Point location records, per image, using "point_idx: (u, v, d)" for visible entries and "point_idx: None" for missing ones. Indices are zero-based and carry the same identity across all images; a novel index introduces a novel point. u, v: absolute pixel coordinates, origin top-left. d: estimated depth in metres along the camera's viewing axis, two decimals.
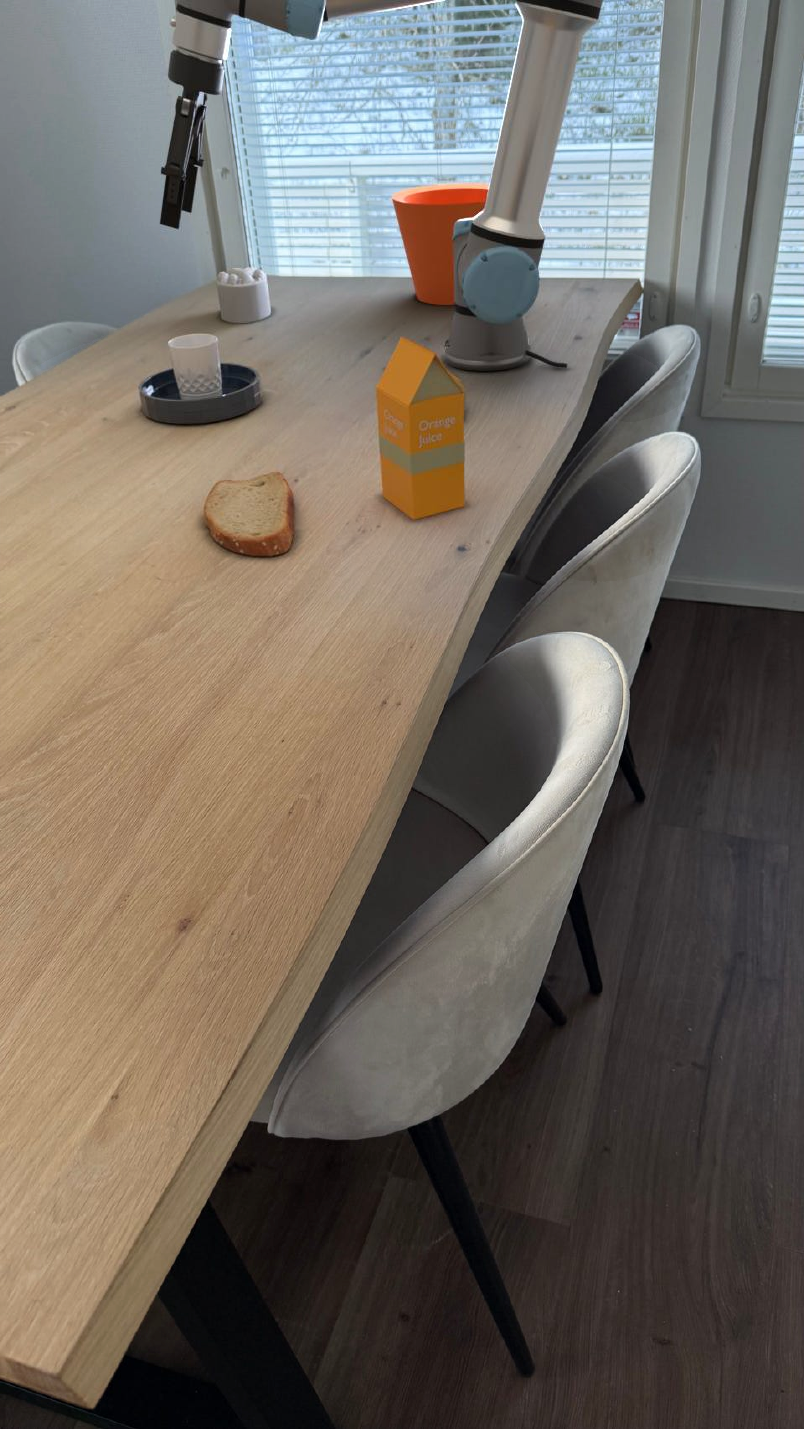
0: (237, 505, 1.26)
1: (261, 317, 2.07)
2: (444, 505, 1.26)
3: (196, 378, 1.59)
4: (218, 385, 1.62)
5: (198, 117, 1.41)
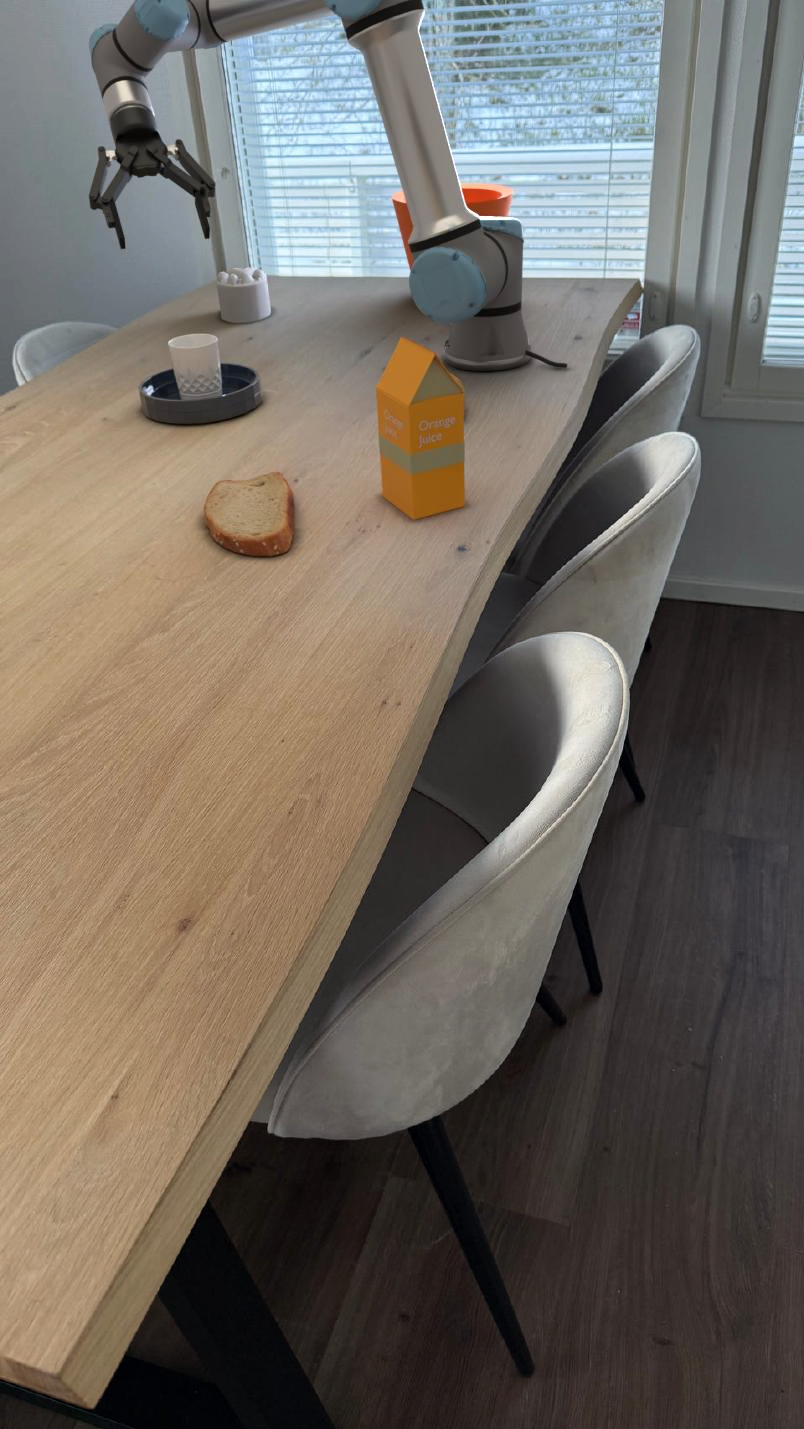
0: (237, 505, 1.26)
1: (261, 317, 2.07)
2: (444, 505, 1.26)
3: (196, 378, 1.59)
4: (218, 385, 1.62)
5: (127, 155, 1.59)
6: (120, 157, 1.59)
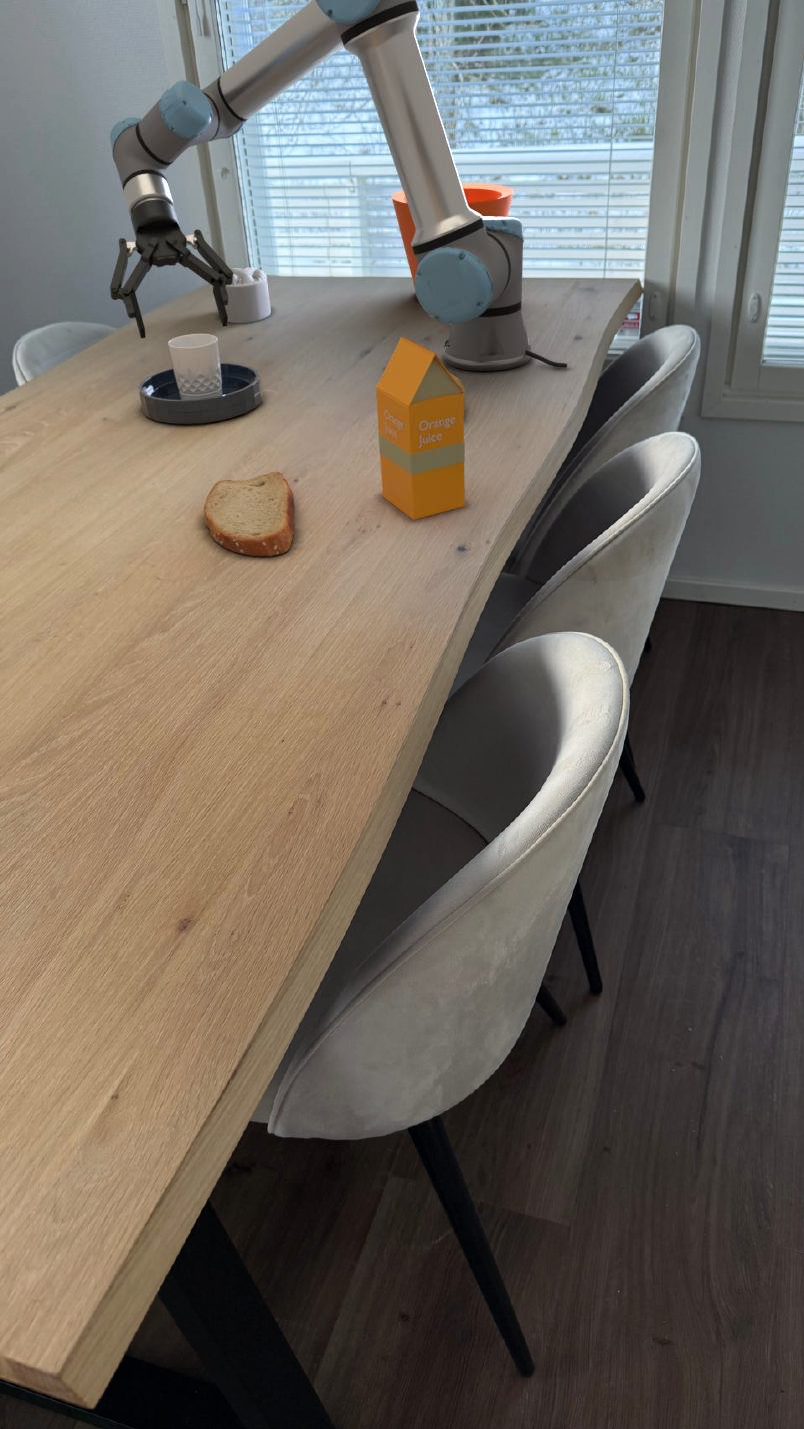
0: (237, 505, 1.26)
1: (261, 317, 2.07)
2: (444, 505, 1.26)
3: (196, 378, 1.59)
4: (218, 385, 1.62)
5: (147, 246, 1.63)
6: (140, 248, 1.63)
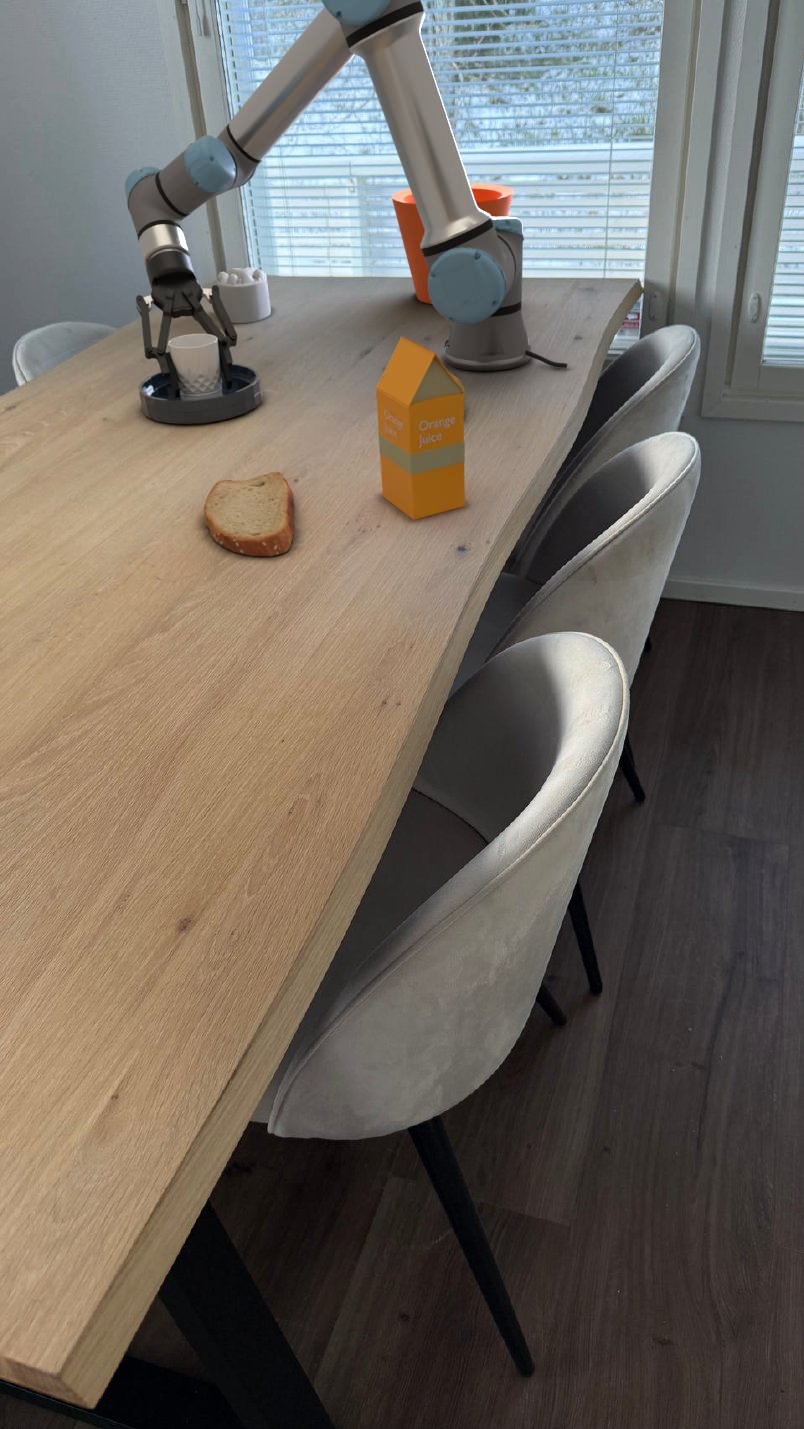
0: (237, 505, 1.26)
1: (261, 317, 2.07)
2: (444, 505, 1.26)
3: (196, 378, 1.59)
4: (218, 385, 1.62)
5: (165, 300, 1.60)
6: (158, 300, 1.61)
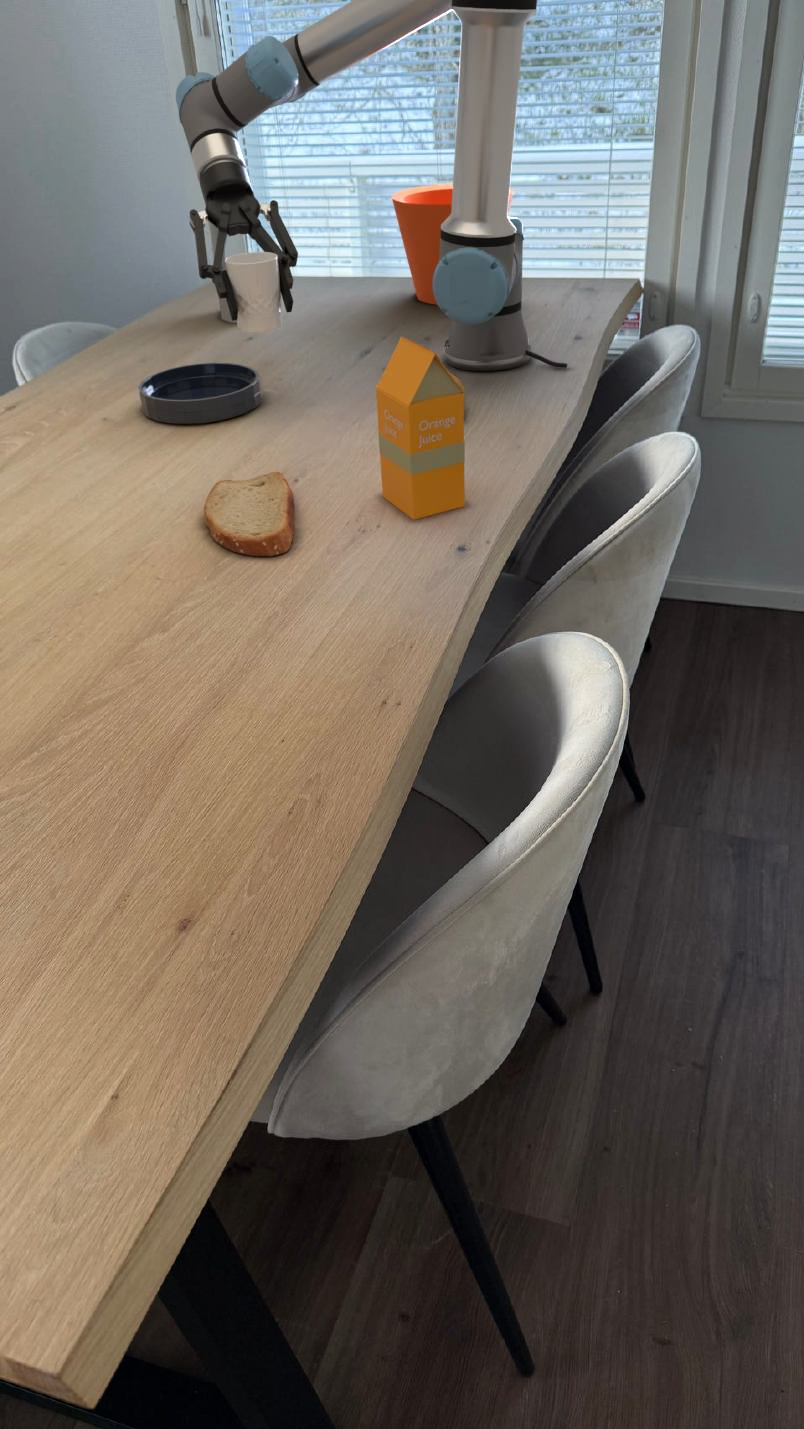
0: (237, 505, 1.26)
1: None
2: (444, 505, 1.26)
3: (255, 298, 1.47)
4: (278, 307, 1.50)
5: (221, 215, 1.49)
6: (213, 215, 1.49)
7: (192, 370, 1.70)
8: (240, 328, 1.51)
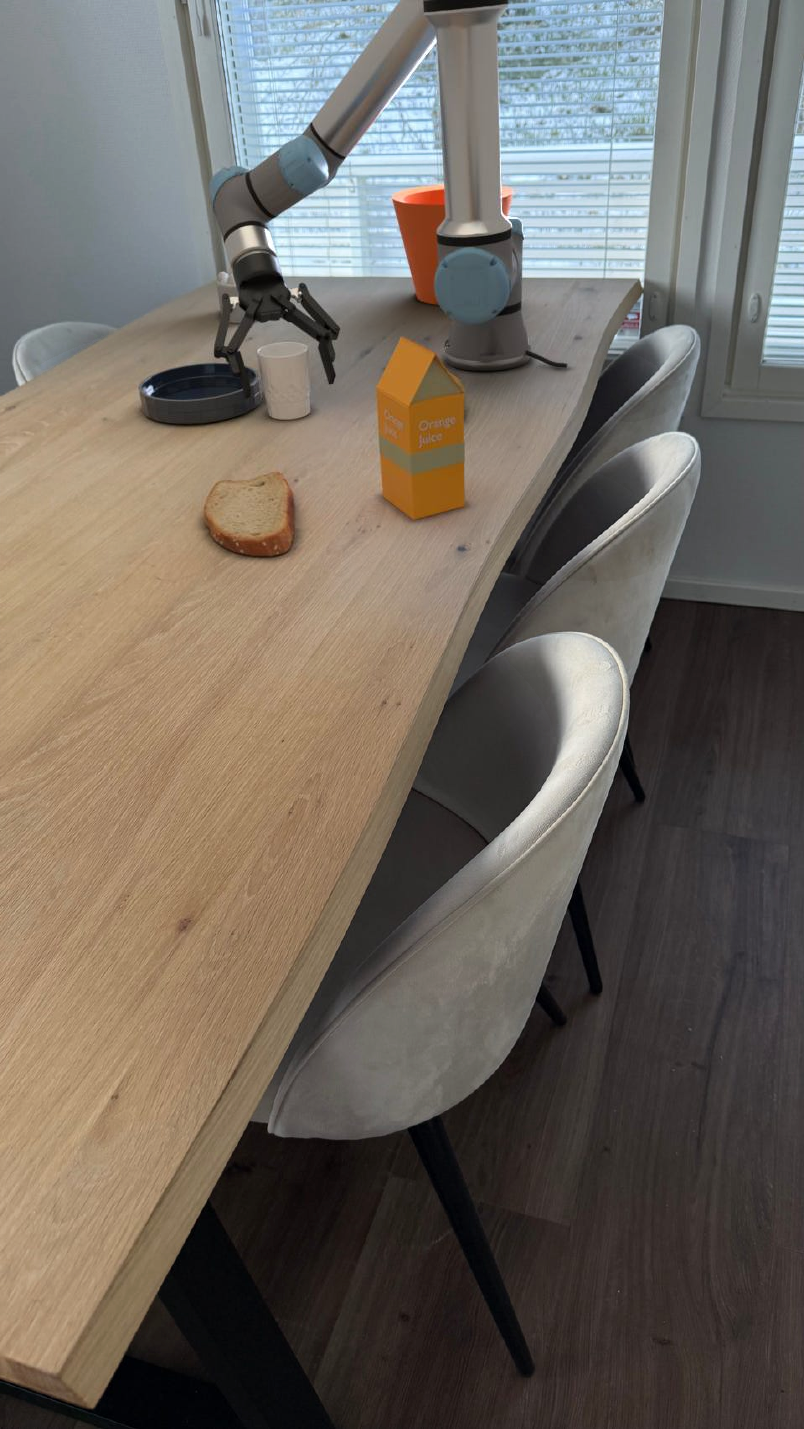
0: (237, 505, 1.26)
1: None
2: (444, 505, 1.26)
3: (286, 388, 1.54)
4: (307, 395, 1.57)
5: (251, 302, 1.55)
6: (244, 304, 1.55)
7: (192, 370, 1.70)
8: (271, 414, 1.58)
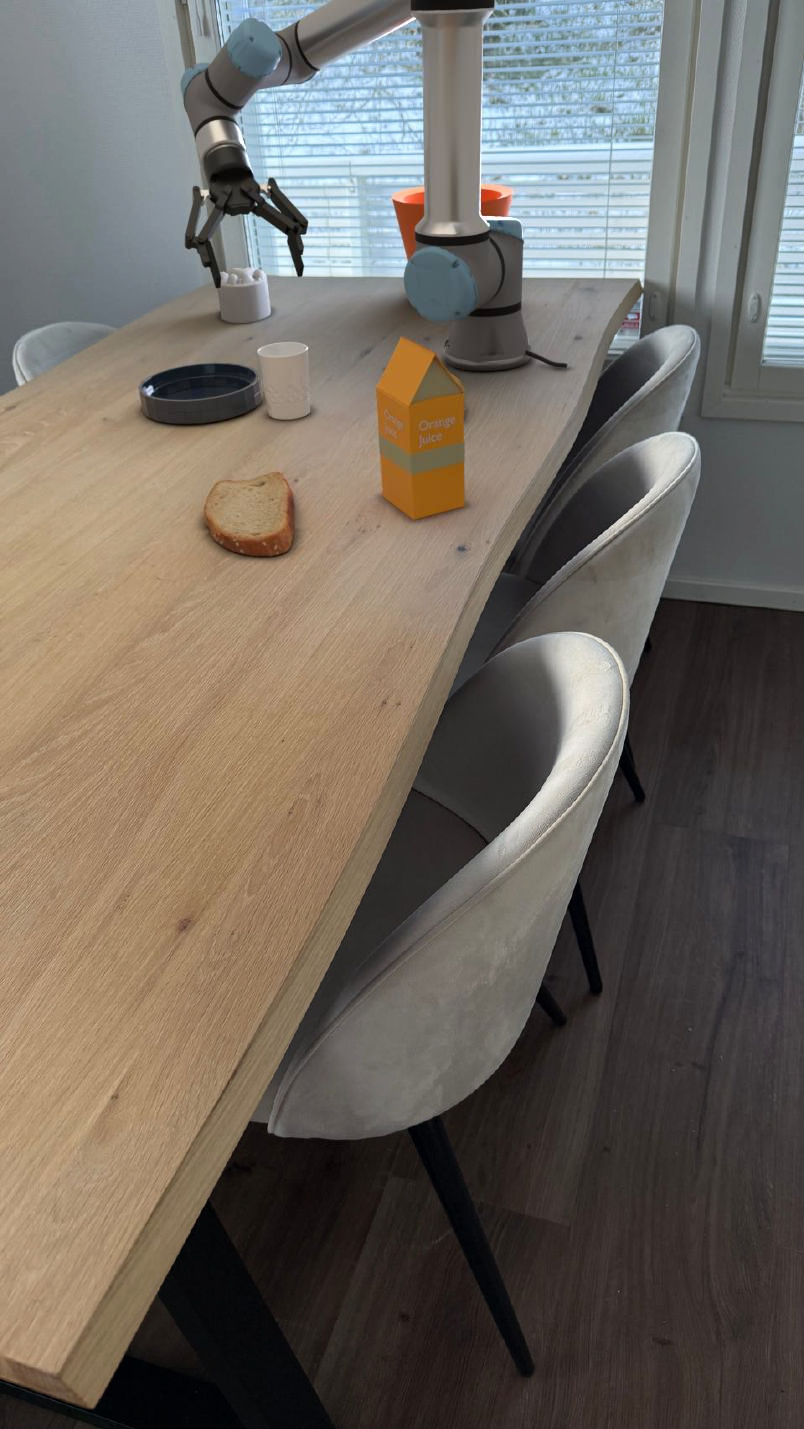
0: (237, 505, 1.26)
1: (261, 317, 2.07)
2: (444, 505, 1.26)
3: (286, 388, 1.54)
4: (307, 395, 1.57)
5: None
6: (214, 196, 1.59)
7: (192, 370, 1.70)
8: (271, 414, 1.58)
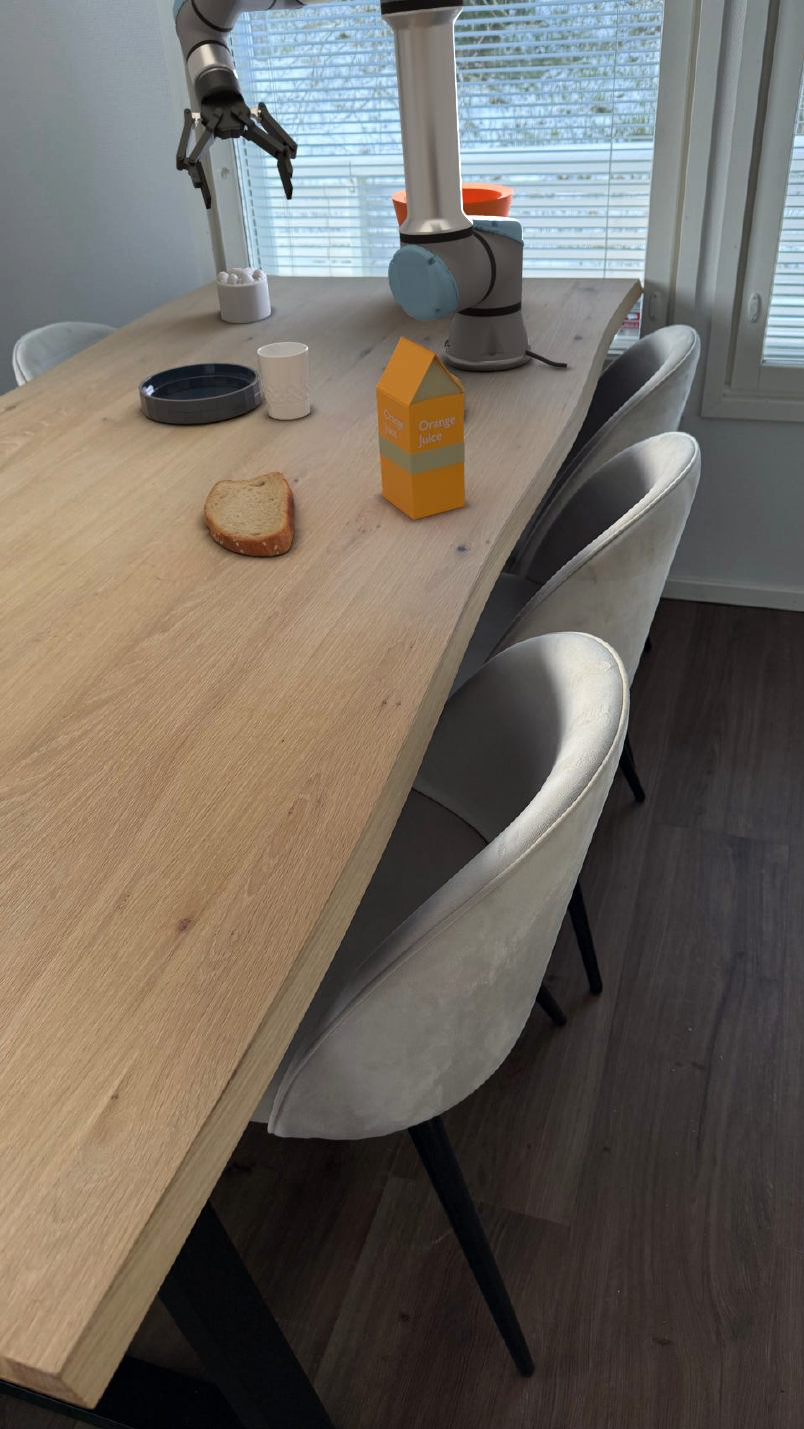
0: (237, 505, 1.26)
1: (261, 317, 2.07)
2: (444, 505, 1.26)
3: (286, 388, 1.54)
4: (307, 395, 1.57)
5: (212, 117, 1.62)
6: (205, 119, 1.62)
7: (192, 370, 1.70)
8: (271, 414, 1.58)
